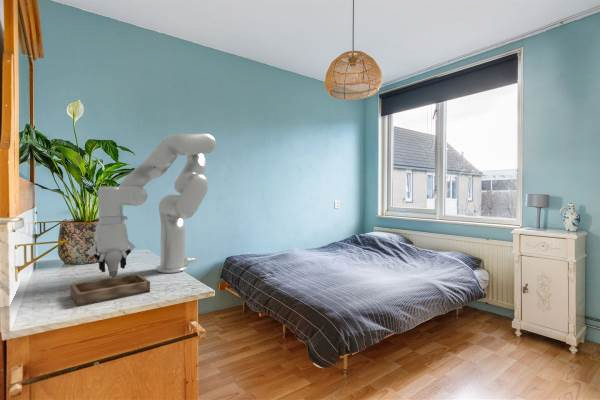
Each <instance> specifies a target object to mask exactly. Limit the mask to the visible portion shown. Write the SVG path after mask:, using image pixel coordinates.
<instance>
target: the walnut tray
mask: <svg viewBox="0 0 600 400" xmlns="http://www.w3.org/2000/svg"><path fill="white" fill-rule="evenodd" d="M69 287H70V289H69V290H70V291H69V295H70V298H71V299H72V300H73V302H74V303H75V305H76V306H77V307H81V306H87V305H91V304H97V303H101V302H106V301H108V302H109V301H112V300H116V299H122V298H126V297H131V296H136V295H141V294H146V293H150V292H151V281H150V280H149V279H147V278H145V277H144V276H142V275H141V274H140V273H134V274H128V275H122V276H115V277H113V278H112V277H109V278H102V279H97V280H91V281H84V282H77V283H71V284H69Z"/></svg>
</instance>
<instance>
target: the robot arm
mask: <svg viewBox="0 0 600 400" xmlns="http://www.w3.org/2000/svg"><path fill="white" fill-rule="evenodd" d="M216 146H217V141H216V139H215V137H214V136H213V135H211V134H210V133H206V132H203V133H201V132H200V133H178V134H170V135H167V136H165V137H163V139H162V140H160V142H159V143H158V145H157V146H156V147H155V148H154V150H153V151H152V152H151V153H150V154H149V155H148V157H147V158H146V159H145V160H144V161H143V162H142V163H140V164H139V165H138V166H136V168H134V169H133V170H132V171H131V172H130V173H128V174H127V175H126V177H125V178H124V179H123V181H121V183H120V184H119V185H118V186H100V187H99V188H98V190H97V198H98V199H97V202H98V203H97V204H98V224H97V225H95V226H96V227H95V233H94V244H93V245H92V246H91V247H90V248H89V249H88V251H87V252H86V253H87V254H88V255H89V256H91V257H93V258H94V259H96V260H97V261H98V271H99V270H100V272H102V273H105V272H106V263H105V261H104V256H105V253H108V252H112V251H121V253H122V259H121V261H120V262H119V264H120V265H119V266H120V268H121V269H122V270H125V268H126V266H127V257H128V256H129V254H130V253H131V252H132V251H133V250H134V249H135V248H136V246H135V245H134V244H133V242H131V241H130V240H129V235H128V231H127V230H128V229H127V225H126V223H125V221H128V216H127V215H126V216H125V215H124V206H132V207H137V206H142V205H143V204H145V203H146V202H147V199H148V193H147V191H146V189H144V187H145V186H146V185H147V184H148V183H150V182H152V181H153V180H156V179H158V178H160V177H162V176H163V175H164V174H166V172H168V170H169V169H170V167H171V166H172V165H173V163H174V162H175V160H177V158H178V157H179V156H186V161H185V162H186V163H185V165H184V167H183V168H182V170H181V172H180V173H179V174H178V176H177V178H176V180H175V182H174V189H175V192H176V193H178V194H167V195H165V196H164V197H162V198H161V200H160V201H159V204H158V212H159V220H160V252H159V253H160V256H159V257H160V261H159V262H160V264H159V265H157V266H156V267H155V271H156V272H158V273H162V274H165V273H166V274H169V273H170V274H172V273H180V272H184V271H187V270H188V269H189V265H188V264H189V263H195V262H196V257H192V258H191V257H185V248H186V247H185V245H186V243H185V242H186V224H185V221H184V220H188V219H190V218H192V217H193V216H194V215H195V213H197V211H198V209H199V208H200V206H201V204H202V202H203V200H204V198H205V197H206V195H207V192H208V190H209V181H208V179H207V177H206V176H205V175H204V173H205V171H206V169H207V160H206V156H205V155H206V154H211V153H212V152H213V151H214V150H216ZM154 167H155V168H154ZM95 252H97V253H98V254H97V253H95Z"/></svg>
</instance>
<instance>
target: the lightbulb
mask: <svg viewBox="0 0 600 400" xmlns="http://www.w3.org/2000/svg"><path fill="white" fill-rule="evenodd" d="M121 259H122V253H121V251H112V252H108V253H105V256H104V261H105V265H106V266H107V271H108V275H109V278H115V277H118V276H117V275H118V270H119V266H120V265H119V264H120V261H121Z"/></svg>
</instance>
